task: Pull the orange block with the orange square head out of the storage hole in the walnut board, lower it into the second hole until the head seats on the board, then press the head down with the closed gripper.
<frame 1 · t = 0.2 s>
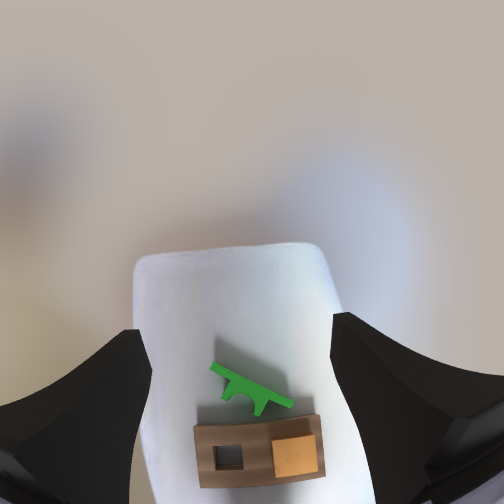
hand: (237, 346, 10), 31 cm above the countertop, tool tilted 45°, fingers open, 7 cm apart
board: (259, 451, 33), on the countertop
orange block: (289, 448, 33), resting in board
pipe clamp: (247, 393, 37), on the countertop
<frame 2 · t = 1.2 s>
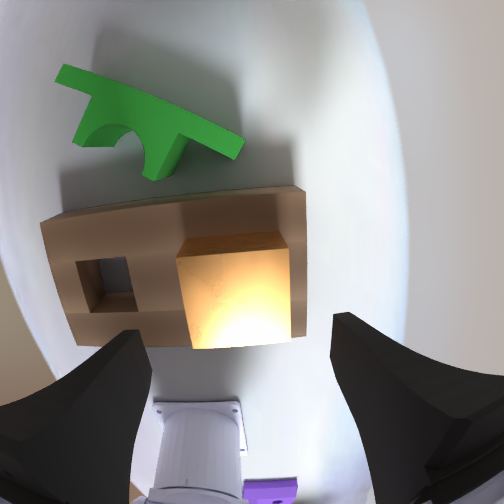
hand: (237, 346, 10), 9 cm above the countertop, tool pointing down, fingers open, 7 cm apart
board: (176, 264, 19), on the countertop
bracket: (265, 493, 32), on the countertop
orange block: (236, 260, 19), resting in board
pipe clamp: (151, 129, 17), on the countertop
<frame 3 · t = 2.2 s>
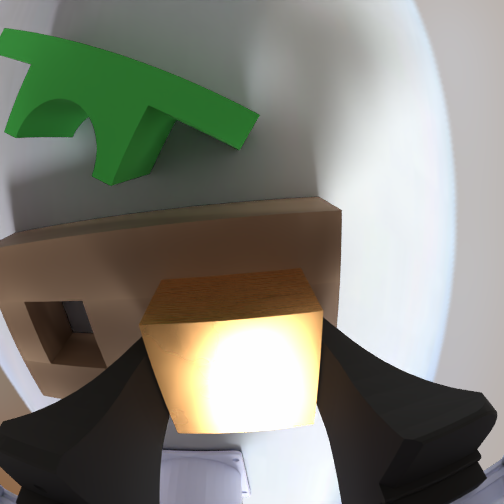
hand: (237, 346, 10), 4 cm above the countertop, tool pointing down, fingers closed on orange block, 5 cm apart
board: (155, 302, 14), on the countertop
orange block: (236, 299, 14), resting in board, touching gripper
pipe clamp: (121, 111, 11), on the countertop
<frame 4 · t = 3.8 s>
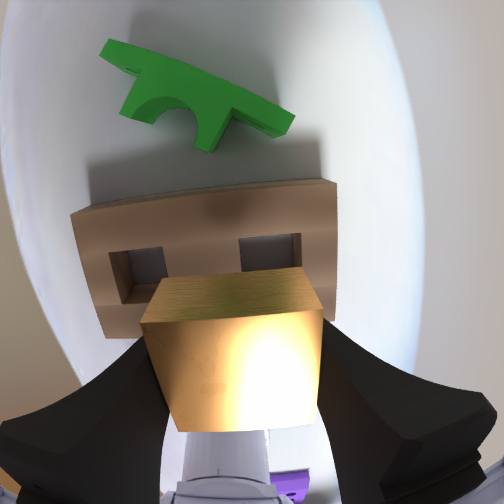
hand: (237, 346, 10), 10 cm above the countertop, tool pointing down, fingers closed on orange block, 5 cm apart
board: (208, 254, 20), on the countertop
bracket: (279, 486, 33), on the countertop
orange block: (237, 298, 14), point 7 cm above the countertop, touching gripper
pipe clamp: (191, 108, 17), on the countertop
when the fingers open (5 cm above the countertop, at t = 5.6 s): orange block drops 1 cm, resting on board.
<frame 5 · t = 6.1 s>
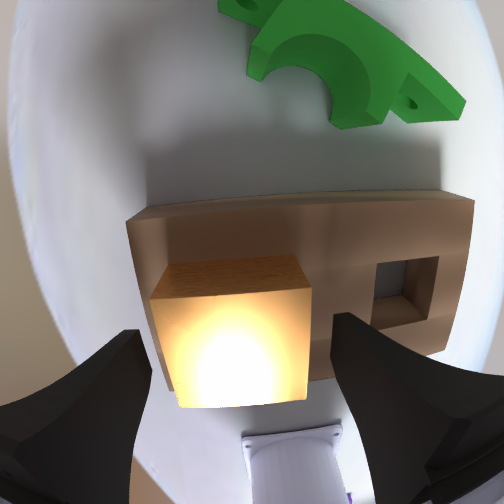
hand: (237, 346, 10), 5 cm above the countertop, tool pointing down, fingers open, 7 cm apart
board: (312, 278, 15), on the countertop
orange block: (235, 285, 15), resting on board
pipe clamp: (310, 70, 12), on the countertop
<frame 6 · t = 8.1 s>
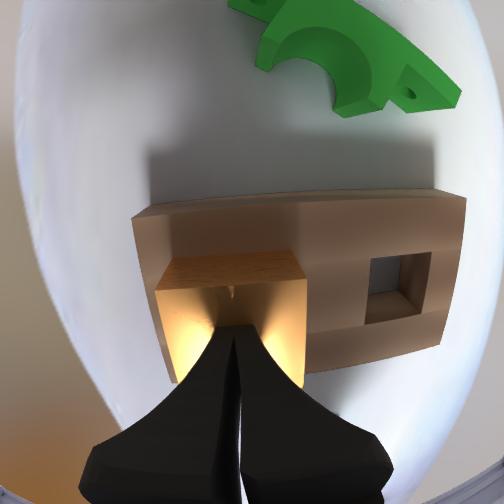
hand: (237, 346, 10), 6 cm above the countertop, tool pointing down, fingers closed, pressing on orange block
board: (309, 273, 16), on the countertop
orange block: (235, 280, 16), resting on board, touching gripper
pipe clamp: (315, 62, 13), on the countertop
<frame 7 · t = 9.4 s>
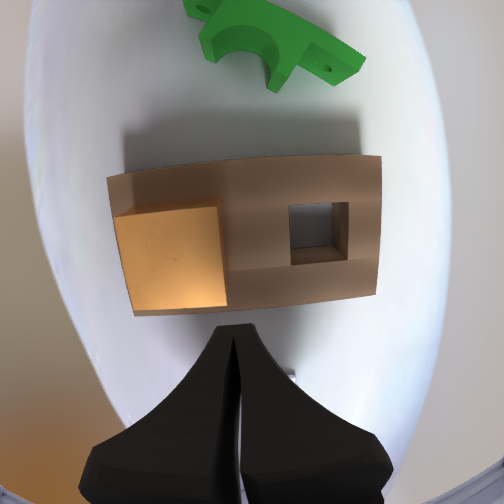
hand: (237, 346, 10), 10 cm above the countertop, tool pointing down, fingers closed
board: (248, 226, 20), on the countertop
orange block: (188, 231, 19), resting on board
pipe clamp: (254, 53, 16), on the countertop
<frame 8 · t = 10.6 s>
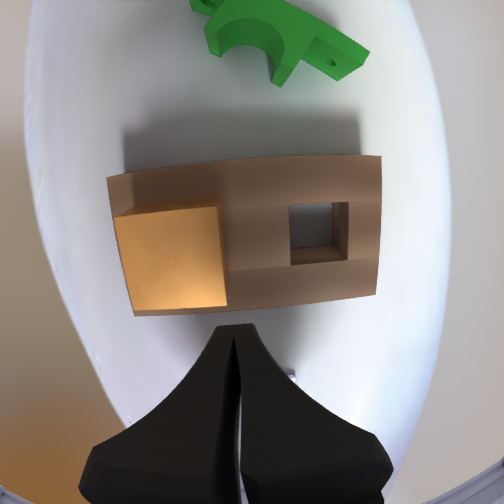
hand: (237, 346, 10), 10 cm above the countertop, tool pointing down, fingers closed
board: (248, 226, 20), on the countertop
orange block: (188, 231, 19), resting on board
pipe clamp: (258, 47, 16), on the countertop
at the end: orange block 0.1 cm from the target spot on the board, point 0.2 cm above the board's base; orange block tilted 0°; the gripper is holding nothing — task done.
